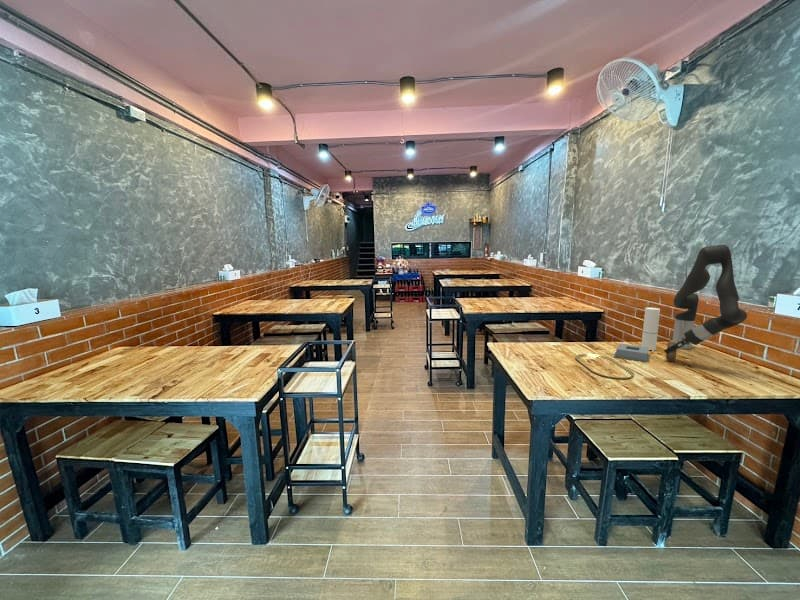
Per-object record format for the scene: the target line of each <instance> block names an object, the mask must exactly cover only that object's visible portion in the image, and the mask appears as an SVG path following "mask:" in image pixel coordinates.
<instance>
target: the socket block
mask: <svg viewBox="0 0 800 600" xmlns="http://www.w3.org/2000/svg"><path fill="white" fill-rule="evenodd" d="M650 355H651V354H650V353H649V351H648V347H642V346H641V345H634V344H627V343H626V344H625V343H619V344H618V345H617V347H616V350H615V352H614V355H613V358H615V359H620V360H627V361H632V360H634V361H633V362H639V361H641V362H640V363H645V362H649V363H650V358H651V356H650Z"/></svg>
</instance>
